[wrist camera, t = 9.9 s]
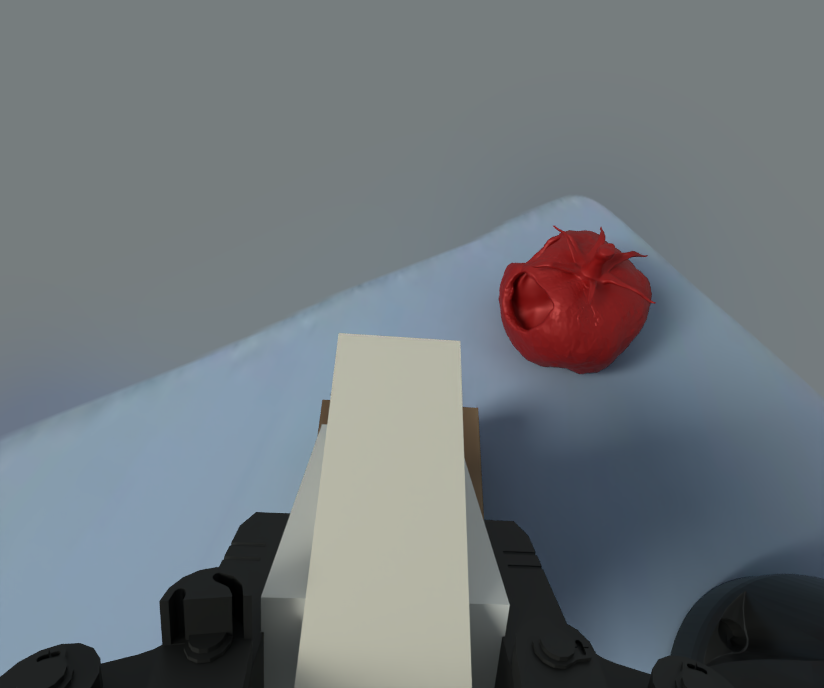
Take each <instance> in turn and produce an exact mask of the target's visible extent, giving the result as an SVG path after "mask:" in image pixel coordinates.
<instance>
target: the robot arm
mask: <svg viewBox="0 0 824 688" xmlns="http://www.w3.org/2000/svg"><path fill="white" fill-rule="evenodd" d="M326 431H327V425H326V424H322V426H321V429H320V431H319V434H318V437H317V440H316V443H315V446H314V448H313V451H312V454H311V457H310V460H309V463H308V465H307V468H306V471H305V474H304V477H303V480H302V482H301V485H300V488H299V491H298V494H297V496H296V499H295V502H294V505H293V508H292V511H291V513H290V514H289V513H265V512H256V513H255V514H253V515H252V516H251V517H250V518H249V519H247V520H246V521H245V522H244V523H243V524H241V525H240V527H239V529H238V531H237V533H236V535H235V537H234V538H233V540H232V543H231V546H229V548H228V550H227V552H226V554H225V556H224V560H222V562H221V564H220V566H219V567H215V568H210V569H204V570H199V571H197V572H195V573H192V574H190V575H188V576H185V577H183V578H182V579H180V580H179V581H178V582H176V583H175V584H174V585H172V586H171V587H170V588H169V589H168V590H167V591H166V593H165V594H164V596H163V597H162V598H161V600H160V615H161V630H162V644H163V645H161V646H159V647H157V648H155V649H153V650H150V651H147V652H144V653H141V654H138V655H134V656H130V657H126V658H122V659H118V660H114V661H110V662H106V663H102V664H101V661H100V657H99V656H98V654H97V653H96V651H95V650H94V648H92V647H89V646H86V645H83V644H81V643H75V644H60V645H57V646H54V647H50V648H47V649H44V650H41V651H39V652H37V653H35V654H33V655H31V656H29V657H27V658H26V659H24V660H22V661H20V662H18V663H17V664H16V665H14V666H13V667H12V668H11V669H10V670H8V671H7V672H6V673H5V674H3V675H2V676H1V677H0V688H294V686H295V678H296V670H297V662H298V654H299V646H300V638H301V630H302V622H303V614H304V606H305V598H306V590H307V582H308V574H309V566H310V558H311V550H312V543H313V535H314V527H315V519H316V511H317V503H318V495H319V487H320V479H321V471H322V463H323V455H324V447H325V439H326ZM464 469H465V498H466V528H467V557H468V587H469V616H470V646H471V675H472V688H824V579H821V578H817V577H812V576H806V575H797V574H772V575H762V576H752V577H744V578H739V579H735V580H732V581H729V582H726V583H724V584H722V585H720V586H718V587H716V588H714V589H713V590H711V591H710V592H708V593H707V594H706V595H704V596H703V597H702V598H701V599H700V600H699V601H698V602H697V603H696V604H695V605H694V606H693V608H692V609H691V610H690V612H689V613H688V614H687V616H686V618H685V619H684V621H683V623H682V625H681V627H680V629H679V631H678V633H677V636H676V639H675V641H674V645H673V648H672V652H671V656H667V657H664V658H661V659H658V661H657V662H656V664H655V666H654V667H653V669H652V672H651V674H648V673H645V672H641V671H638V670H635V669H632V668H629V667H625V666H622V665H619V664H616V663H614V662H611V661H609V660H606V659H604V658H602V657H600V656H599V655H597V654H596V653H595V651H594V649H593V647H592V646H591V644H590V642H589V641H588V640H587V639H586V638H585V637H584V636H583V635H582V634H581V633H580V632H579V631H578V630H577V629H575V628H573V627H571V626H570V625H568V624H567V623H566V621H565V618H564V616H563V614H562V612H561V609H560V607H559V605H558V602H557V600H556V598H555V596H554V593H553V591H552V589H551V587H550V584H549V582H548V580H547V577H546V575H545V573H544V571H543V569H542V568H541V564H540V561H539V559H538V557H537V555H535V550H534V548H533V545H532V543H531V541H530V539H529V536H528V535H527V534H526V533H525V532H524V531H523V530H522V529H521V528H520V527H519V526H518V525H517V524H516V523H515V522H514V521H495V520H483V517H482V514H481V510H480V507H479V504H478V501H477V498H476V494H475V491H474V488H473V485H472V481H471V478H470V475H469V472H468V468H467V465H466V462H465V459H464Z"/></svg>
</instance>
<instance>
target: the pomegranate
mask: <svg viewBox="0 0 824 688" xmlns="http://www.w3.org/2000/svg"><path fill="white" fill-rule="evenodd" d="M553 227H555V226H554V225H553ZM555 228H556V229H557V230H558V231H560V232H561V233H560V234H559V235H557V236H555V237H552V238H550V239H549V240H548V241H547V242H546V244H545V245H544V247H543V248H542V249H541V250H540V251H539V252H537V253H536V254H535V255H534V256H533V257H532V258H531V259H530V260H529V261H528V262H526V263H511V264H509V265H508V266H507V268H506V270H505V272H504V276H503V278H502V281H501V284H500V290H499V291H500V295H499V303H500V309H501V318H502V322H503V326H504V328H505V331H506V333H507V335H508V337H509V339H510V341H511V342H512V344H513V346H514V347H515V348H516V349H517V350H518V351H519V352H520V353H521V355H522V356H524V358H526V359H527V360H528V361H530V362H533V363H535V364H537V365H540V366H543V367H550V366H551V367H560V368H567V369H569V370H571V371H574V372H576V373H578V374H585V373H594V372H595V373H597V372H599V371H601V370H603V369H605V368H606V367H608V366H609V365H610V364H611V363H612V362H613V361H614V360H615V359H616V358H617V357H618V356H619V355H620V354H621V353H622V352H623V351H624V350H625V349H626V348H627V347H628V346H629V344H630V343H631V342H632V341H633V339H634V338H635V337H636V336H637V335H638V334H639V332H640V331H641V329H642V327H643V325H644V323H645V322H646V320H647V316H648V312H649V307H650V303H655V302H653V301H651V297H652V293H651V287H650V283H649V281H648V279H647V277H645V276H644V275H643V274H642V273H641V272H640V271H639V270H637V269H636V268H635V266H634V265H633V263H631V262H630V261H629V260H628V259H629V258H631V257H646V256H648V255H646V256H644V255H641V254H639V253H637V252H635V251H631V252H627V253H622V252H621V251H620V250H618V249H617V248H615V245H614V244H611V243H607V242H606V241H605V234H604V231H603V230H602V227H600V230H601V232H600V235H599V234H597V233H595V232H592V231H585V230H584V231H571V230H569V231H566V232H565V231H562V230H560V229H558V228H557V227H555Z"/></svg>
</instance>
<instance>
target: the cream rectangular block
mask: <svg viewBox="0 0 824 688" xmlns="http://www.w3.org/2000/svg"><path fill="white" fill-rule="evenodd" d="M294 688H472V675H471V646H470V616H469V587H468V557H467V528H466V498H465V469H464V439H463V410H462V380H461V351H460V341H451V340H436V339H421V338H405V337H390V336H374V335H359V334H344V333H339V335H338V343H337V351H336V359H335V367H334V375H333V383H332V391H331V399H330V407H329V415H328V423H327V431H326V439H325V447H324V455H323V463H322V471H321V479H320V487H319V495H318V503H317V511H316V519H315V527H314V535H313V543H312V550H311V558H310V566H309V574H308V582H307V590H306V598H305V606H304V614H303V622H302V630H301V638H300V646H299V654H298V662H297V670H296V678H295V686H294Z"/></svg>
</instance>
